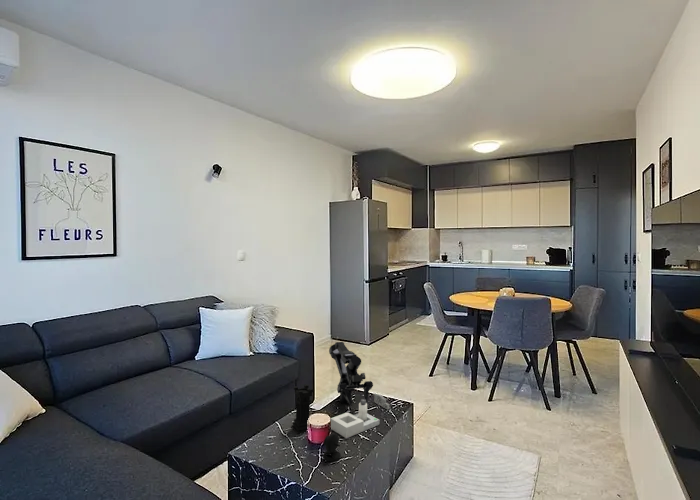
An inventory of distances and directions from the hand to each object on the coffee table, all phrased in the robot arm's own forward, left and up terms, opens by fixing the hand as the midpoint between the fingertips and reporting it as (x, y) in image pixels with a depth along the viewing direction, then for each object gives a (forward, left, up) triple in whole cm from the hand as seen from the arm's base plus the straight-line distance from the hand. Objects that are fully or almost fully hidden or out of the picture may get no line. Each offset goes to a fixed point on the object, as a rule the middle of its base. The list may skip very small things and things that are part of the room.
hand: (358, 402), depth 201 cm
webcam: (+20, -34, -8) cm, 40 cm away
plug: (+6, -3, -8) cm, 10 cm away
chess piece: (-8, -30, -8) cm, 32 cm away
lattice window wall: (-3, +20, -8) cm, 22 cm away
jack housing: (+6, -8, -8) cm, 13 cm away
